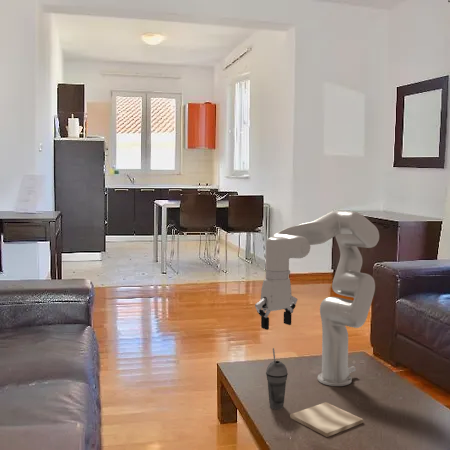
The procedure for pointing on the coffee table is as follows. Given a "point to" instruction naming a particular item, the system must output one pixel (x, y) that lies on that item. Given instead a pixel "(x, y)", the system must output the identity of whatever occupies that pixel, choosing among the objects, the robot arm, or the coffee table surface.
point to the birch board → (326, 419)
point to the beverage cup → (276, 383)
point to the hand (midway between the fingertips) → (276, 326)
